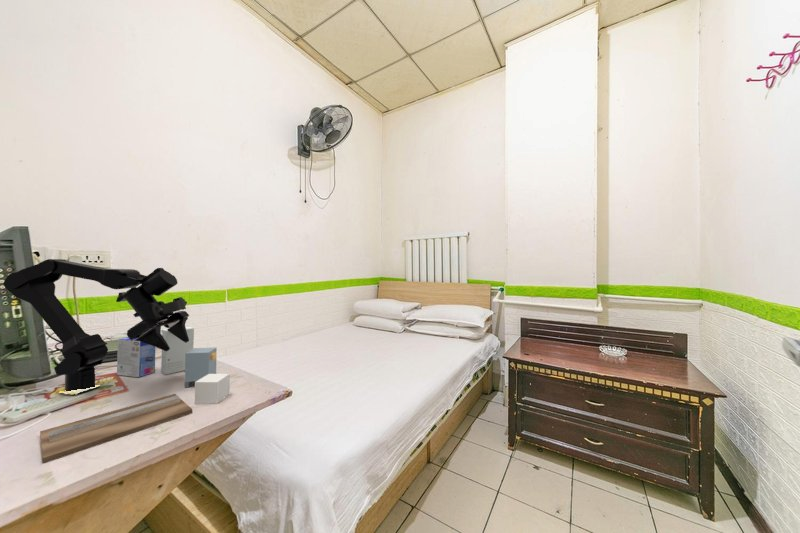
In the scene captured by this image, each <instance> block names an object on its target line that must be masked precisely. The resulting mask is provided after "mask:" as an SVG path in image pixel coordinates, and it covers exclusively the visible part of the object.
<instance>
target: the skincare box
mask: <svg viewBox="0 0 800 533" xmlns="http://www.w3.org/2000/svg"><path fill="white" fill-rule="evenodd" d="M185 328H186V331H187V335H188V338H189V341H188V342H187V343H185V342H184V341H182V340H180V339H179V338H178V337H176V336H175V335H173V334H172V333H170V332H169V331H168V330H167V329H169V328H162V329H161V331H162V333H161V335H162V336H163V338H164V339H165V341H166V342H167V344H168V346H169V347H170V350H168V351H164V350H162V349H161V363H160V364H161V365H160V370H161V372H162V373H163V374H164V375H165V376H166V375H171V374H175V373H179V372H183V371H184V372H185V353H187V352H189V351H190V350H192V349H194V342H195V341H194V340H195V339H194V338H195V336H194V335H195V328H194V327H193V326H189V325H188V326H185Z"/></svg>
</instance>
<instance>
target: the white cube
mask: <svg viewBox="0 0 800 533" xmlns="http://www.w3.org/2000/svg"><path fill="white" fill-rule="evenodd" d="M230 378H231V376H230V373H216V374H208V375H206V376H204V377H203V378H201V379H199V380H198V381H196V382H195V383H194V404H196V405H200V404H201V405H216V404H217V403H218V402H219V403H221V402H222V401H223V400H224V399H225V398H227V397H228V396H229V395H230V394H229V393H230V392H231V391H230V386H231V385H230V381H231V380H230ZM228 394H229V395H228ZM227 395H228V396H227ZM224 397H225V398H224ZM223 398H224V399H223ZM222 399H223V400H222ZM219 403H218V404H219Z"/></svg>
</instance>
